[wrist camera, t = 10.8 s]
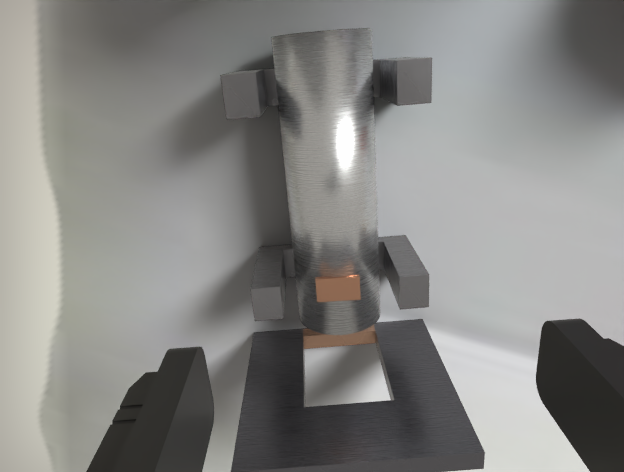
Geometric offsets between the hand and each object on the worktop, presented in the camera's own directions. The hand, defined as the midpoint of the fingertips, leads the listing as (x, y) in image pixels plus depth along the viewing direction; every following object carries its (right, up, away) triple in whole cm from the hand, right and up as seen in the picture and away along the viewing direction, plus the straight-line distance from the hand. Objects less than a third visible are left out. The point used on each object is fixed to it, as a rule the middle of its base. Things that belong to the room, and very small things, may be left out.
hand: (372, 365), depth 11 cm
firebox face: (0, -4, +22) cm, 23 cm away
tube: (0, +7, +17) cm, 19 cm away
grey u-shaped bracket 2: (0, +2, +20) cm, 20 cm away
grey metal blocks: (-1, +12, +16) cm, 20 cm away
